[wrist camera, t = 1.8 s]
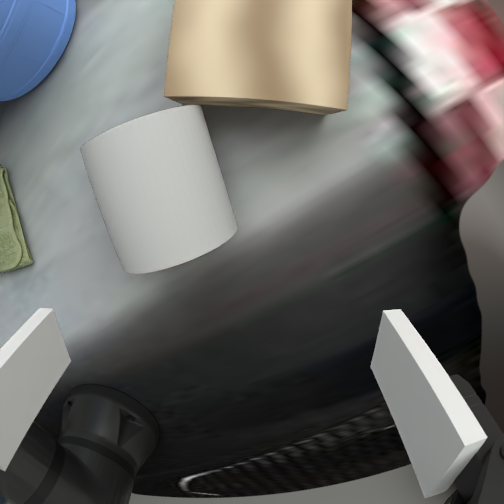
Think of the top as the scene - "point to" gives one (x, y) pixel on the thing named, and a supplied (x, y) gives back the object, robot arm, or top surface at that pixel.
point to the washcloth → (10, 230)
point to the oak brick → (261, 54)
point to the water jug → (31, 42)
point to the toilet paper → (160, 189)
